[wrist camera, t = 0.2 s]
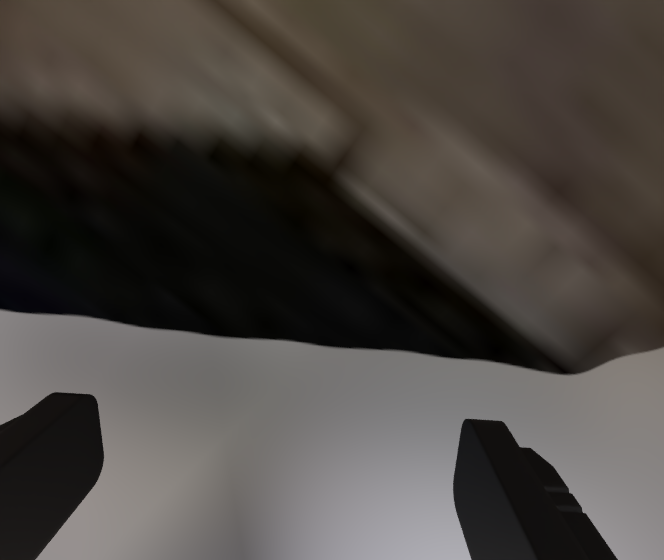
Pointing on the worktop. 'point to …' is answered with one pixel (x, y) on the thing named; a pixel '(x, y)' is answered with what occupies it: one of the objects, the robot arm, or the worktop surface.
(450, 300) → the worktop surface
